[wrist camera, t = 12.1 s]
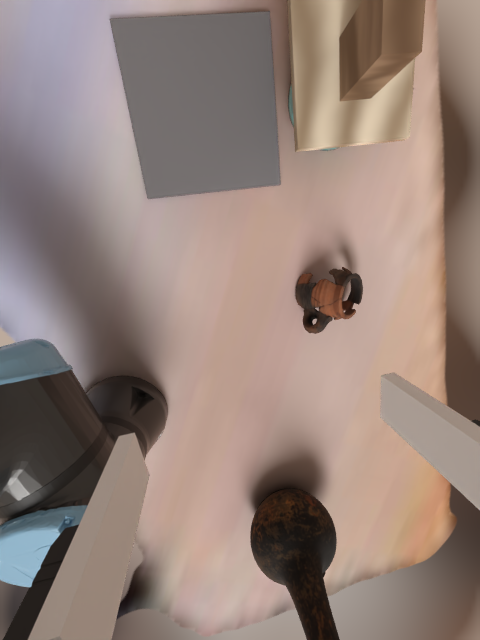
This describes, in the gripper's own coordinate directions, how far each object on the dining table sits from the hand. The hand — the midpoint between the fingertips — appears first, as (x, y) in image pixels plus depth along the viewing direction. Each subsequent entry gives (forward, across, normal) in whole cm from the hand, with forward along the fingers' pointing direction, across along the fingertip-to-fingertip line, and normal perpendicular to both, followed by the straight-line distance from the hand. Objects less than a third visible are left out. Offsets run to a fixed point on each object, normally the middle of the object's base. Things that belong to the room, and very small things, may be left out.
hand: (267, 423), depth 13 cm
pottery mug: (+30, -17, +2) cm, 35 cm away
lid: (+24, -20, -26) cm, 41 cm away
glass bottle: (+31, -6, +50) cm, 59 cm away
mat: (+30, -2, -27) cm, 41 cm away
